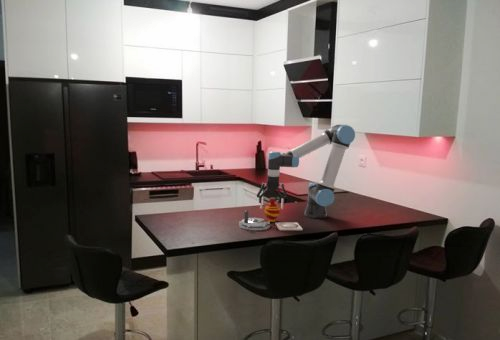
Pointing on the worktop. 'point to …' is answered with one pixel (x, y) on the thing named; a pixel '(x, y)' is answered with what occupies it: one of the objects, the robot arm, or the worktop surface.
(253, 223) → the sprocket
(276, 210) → the potion bottle
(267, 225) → the sprocket base
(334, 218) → the worktop surface
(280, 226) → the seat
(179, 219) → the worktop surface
